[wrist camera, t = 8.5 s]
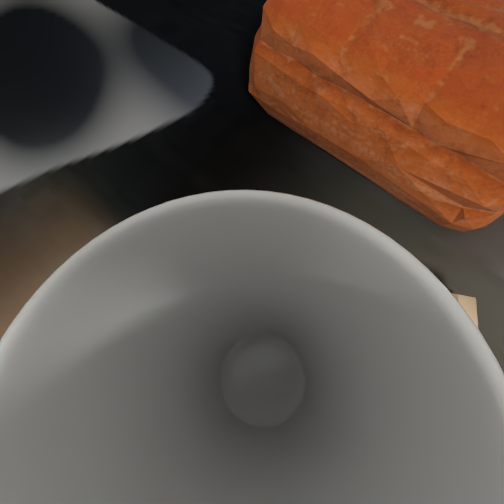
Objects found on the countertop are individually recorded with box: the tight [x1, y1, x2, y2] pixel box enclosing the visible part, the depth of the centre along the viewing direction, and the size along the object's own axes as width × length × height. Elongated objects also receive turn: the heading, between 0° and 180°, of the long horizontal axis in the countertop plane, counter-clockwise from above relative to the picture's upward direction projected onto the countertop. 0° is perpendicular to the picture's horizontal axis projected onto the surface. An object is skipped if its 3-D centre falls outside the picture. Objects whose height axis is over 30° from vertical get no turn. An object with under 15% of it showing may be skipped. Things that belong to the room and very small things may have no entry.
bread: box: [248, 0, 504, 232], centre depth 23 cm, size 16×27×11 cm, turn 48°
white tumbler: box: [0, 190, 504, 504], centre depth 10 cm, size 7×7×15 cm
